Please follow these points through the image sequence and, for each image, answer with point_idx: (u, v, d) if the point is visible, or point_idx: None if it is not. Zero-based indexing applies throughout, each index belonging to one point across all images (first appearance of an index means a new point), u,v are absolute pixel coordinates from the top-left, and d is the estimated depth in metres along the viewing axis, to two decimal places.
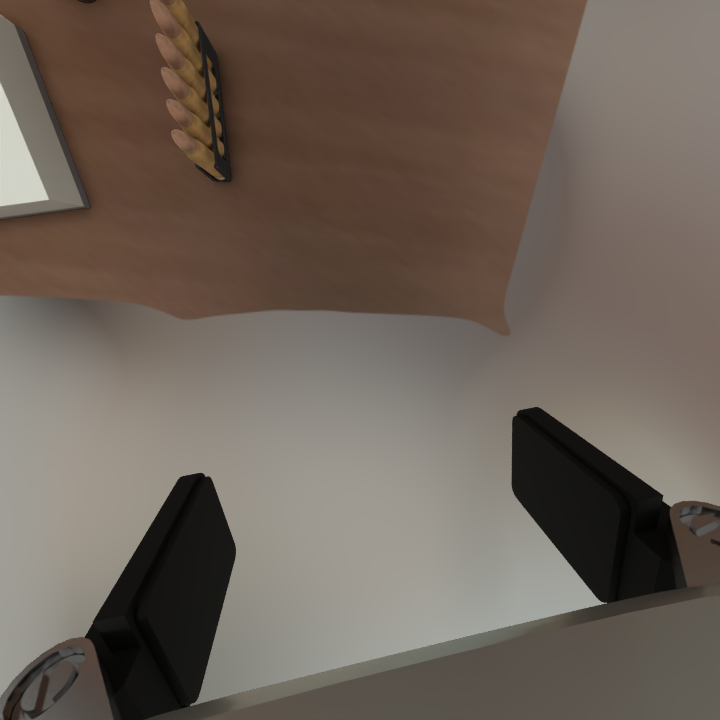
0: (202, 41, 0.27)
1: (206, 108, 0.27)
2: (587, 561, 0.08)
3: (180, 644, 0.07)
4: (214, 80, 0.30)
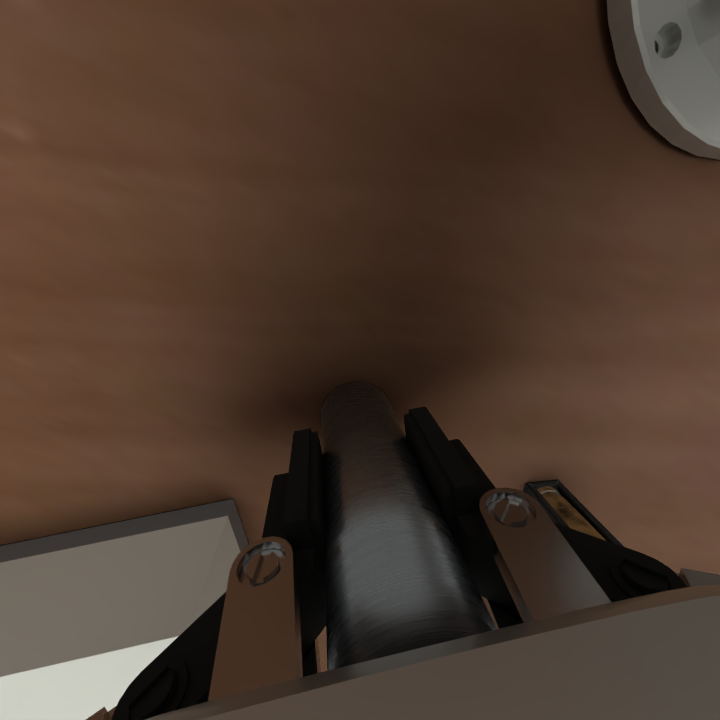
0: None
1: None
2: None
3: None
4: None
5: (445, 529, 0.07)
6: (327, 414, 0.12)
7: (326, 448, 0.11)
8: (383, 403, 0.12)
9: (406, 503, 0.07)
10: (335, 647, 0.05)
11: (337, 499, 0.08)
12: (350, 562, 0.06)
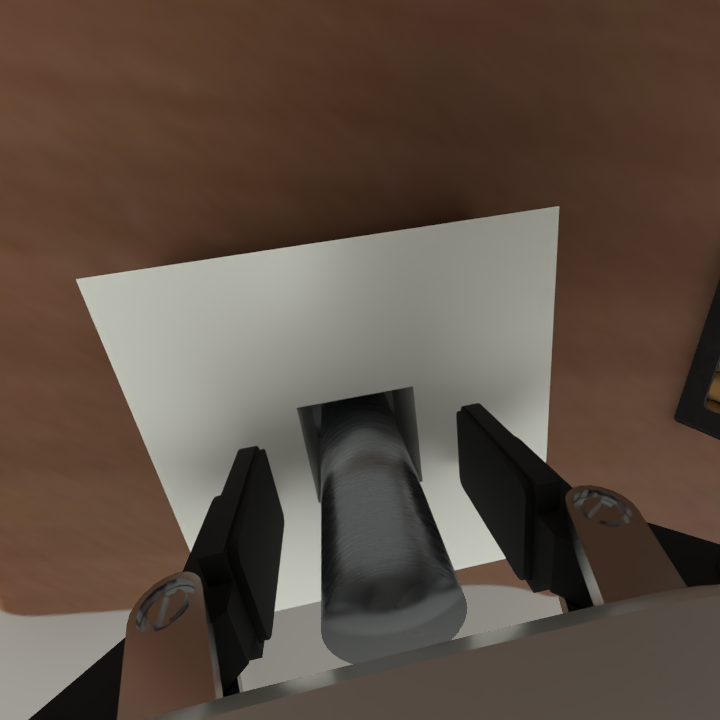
0: None
1: None
2: (509, 543, 0.08)
3: (258, 587, 0.07)
4: None
5: (416, 484, 0.09)
6: None
7: (324, 423, 0.12)
8: None
9: (385, 464, 0.09)
10: (326, 562, 0.07)
11: (332, 462, 0.10)
12: (339, 506, 0.08)
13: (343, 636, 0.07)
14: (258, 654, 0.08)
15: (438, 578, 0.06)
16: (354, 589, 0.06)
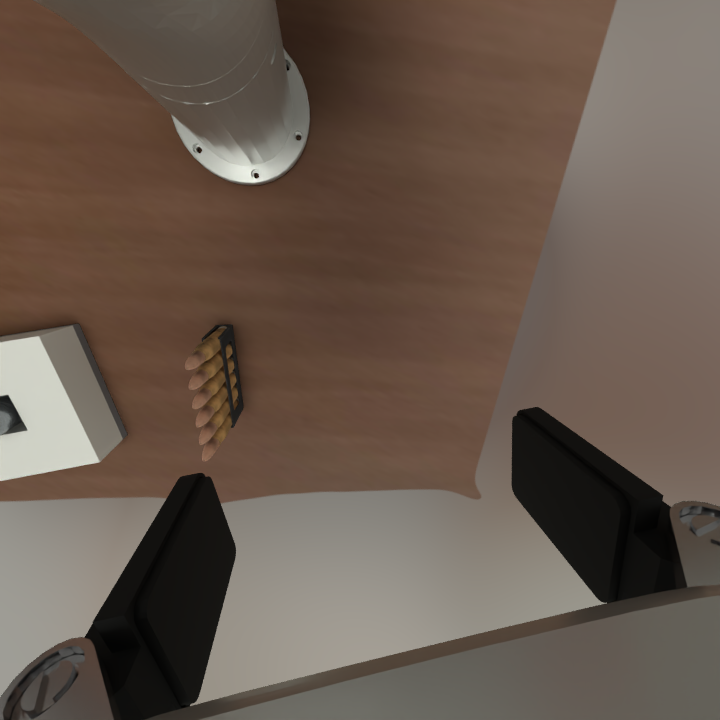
0: (223, 346, 0.34)
1: (226, 395, 0.34)
2: (587, 562, 0.08)
3: (180, 644, 0.07)
4: (231, 352, 0.37)
5: None
6: None
7: None
8: None
9: None
10: None
11: None
12: None
13: None
14: None
15: None
16: None
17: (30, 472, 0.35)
